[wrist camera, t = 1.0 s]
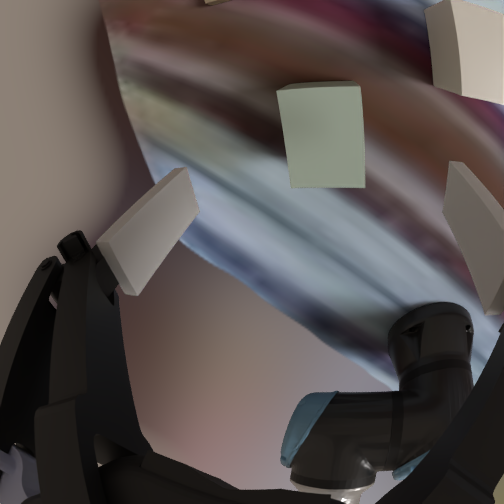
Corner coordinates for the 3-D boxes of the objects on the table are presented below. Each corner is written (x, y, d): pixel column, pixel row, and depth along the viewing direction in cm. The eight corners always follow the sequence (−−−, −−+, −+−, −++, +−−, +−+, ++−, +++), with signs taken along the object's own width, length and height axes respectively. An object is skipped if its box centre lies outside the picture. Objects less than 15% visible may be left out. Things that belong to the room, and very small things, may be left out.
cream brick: (483, 94, 17) (519, 109, 12) (433, 85, 19) (461, 95, 13) (476, 22, 12) (512, 17, 7) (423, 9, 14) (449, -3, 9)
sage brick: (359, 158, 26) (365, 187, 21) (301, 159, 28) (291, 188, 23) (353, 80, 21) (360, 86, 16) (290, 83, 23) (276, 90, 18)
